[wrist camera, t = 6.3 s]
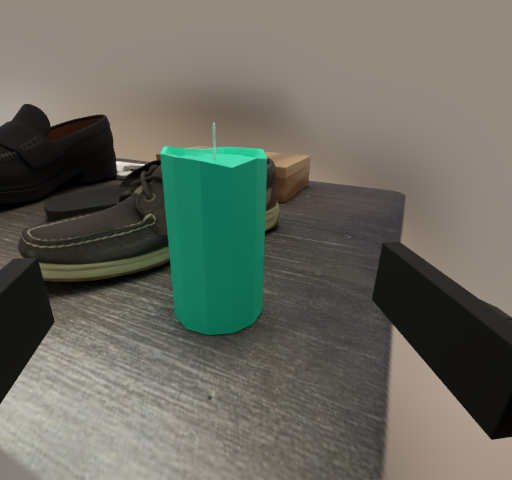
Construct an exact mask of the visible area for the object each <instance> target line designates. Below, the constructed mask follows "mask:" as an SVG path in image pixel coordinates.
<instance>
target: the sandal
mask: <svg viewBox="0 0 512 480" xmlns="http://www.w3.org/2000/svg"><path fill="white" fill-rule="evenodd" d="M160 164H161V160H155V161H152V162H150V163H147V164H145V165H144V166H142V167H140V168H138V169H136V170H134V171H132V172H131V173H130V174H128V175H127V176H126V177H125V179H124V180H123V182H122V183H121V185H110V186H103V187H98V188H94V189H91V190H87V191H81V192H74V193H68V194H63V195H59V196H56V197H54V198H52V199H50V200H49V201H47V202H46V203H45V205H44V209H45V212H46V215H47V217H48V219H49V220H51V221H52V222H53V221H58V220H62V219H65V218H70V217H74V216H78V215H83V214H87V213H93V212H98V211H102V210H105V209H108V208H110V207H113V206H115V205H117V204H118V203H119V196H120V194H122V193H123V192H125V191H127V190H129V189H130V186H131V184H132V183H133V182H134V181H136V180H139V179H141V178H140V177H141V173H142V172H143V171H146V172H147V173H148V171H149V169H150V167H151V166H152V165H157V166H158V167H159V166H160Z"/></svg>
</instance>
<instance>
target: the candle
mask: <svg viewBox="0 0 512 480" xmlns="http://www.w3.org/2000/svg"><path fill="white" fill-rule="evenodd" d="M160 157H161V168H162V178H163V189H164V200H165V211H166V222H167V233H168V244H169V255H170V266H171V277H172V288H173V298H174V309H175V317H176V318H177V319H178V320H179V321H180V322H181V323H182V325H183V326H184V327H185V328H186V329H189V330H193V331H196V332H199V333H203V334H206V335H216V334H229V333H235V332H237V331H239V330H241V329H243V328H246V327H248V326H250V325H252V324H254V322H255V321H256V319H257V318H258V316H259V315H260V313H261V312H262V301H263V271H264V242H265V212H266V182H267V157H266V155H265V153H264V151H263V149H253V148H236V147H221V148H216V136H215V123H213V148H208V149H188V148H174V147H163V149H162V151H161V153H160Z"/></svg>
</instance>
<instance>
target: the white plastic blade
mask: <svg viewBox="0 0 512 480" xmlns="http://www.w3.org/2000/svg"><path fill="white" fill-rule="evenodd" d="M116 166H117V172H123V171H124V170H130V169H138V168H140V167H142V166H144V164H135V163H127V162H119V161H116Z"/></svg>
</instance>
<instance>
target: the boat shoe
mask: <svg viewBox="0 0 512 480" xmlns="http://www.w3.org/2000/svg"><path fill="white" fill-rule="evenodd" d="M275 171H276V168H275V164H274V162H273V160H272V159H270V158H267V182H266V212H265V231H267V230H270V229H272V228H273V227H275V226H276V225H277V223H278V221H279V206H278V202H277V185H276V173H275ZM140 178H141V179H139V180H136V181H134V182H133V183H132V184H131V186H130V189H129V190H127V191H125V192H123V193H122V194H120V196H119V203H118V204H117V205H115V206H113V207H110V208H108V209H105V210H102V211H98V212H93V213H87V214H83V215H78V216H74V217H70V218H65V219H62V220H58V221H53V222H50V223H46V224H41V225H37V226H34V227H30V228H25V229H24V230H22V237H21V238H20V241H19V244H18V249H19V252H20V254H19V258H38V261H39V265H40V268H41V272H42V276H43V280H44V281H55V282H75V281H91V280H100V279H107V278H113V277H119V276H123V275H126V274H133V273H137V272H139V271H145V270H149V269H151V268H153V267H157V266H160V265H163V264H165V263H167V262H169V261H170V255H169V244H168V233H167V222H166V211H165V200H164V189H163V178H162V168H161V164H160V166H159V167H158V166H157V165H152V166H151V167H150V169H149V171H148V173H147V172H146V171H143V172H142V173H141V177H140Z"/></svg>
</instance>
